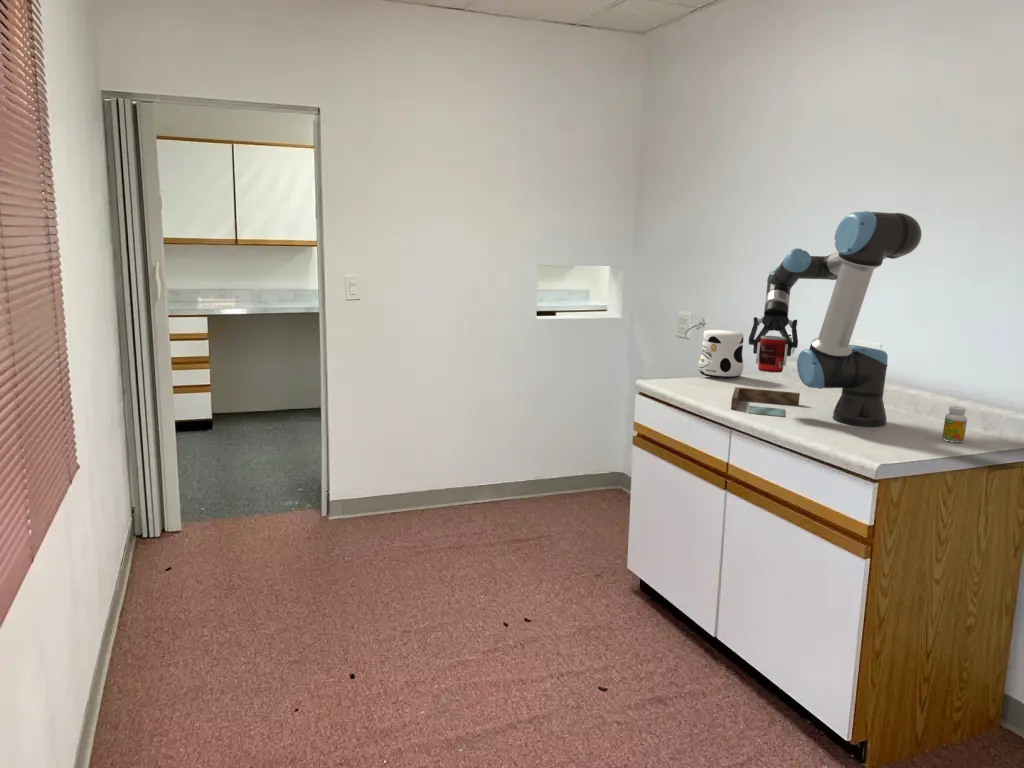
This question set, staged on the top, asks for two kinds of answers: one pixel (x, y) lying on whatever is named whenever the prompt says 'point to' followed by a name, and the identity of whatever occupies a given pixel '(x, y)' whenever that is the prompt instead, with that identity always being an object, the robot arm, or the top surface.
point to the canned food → (771, 354)
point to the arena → (764, 400)
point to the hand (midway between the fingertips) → (771, 361)
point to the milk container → (721, 354)
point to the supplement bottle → (955, 424)
